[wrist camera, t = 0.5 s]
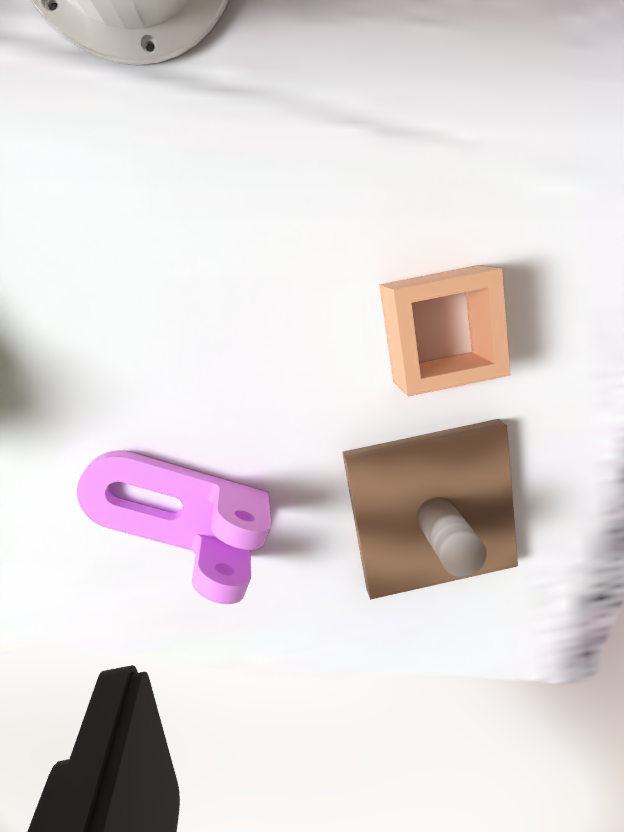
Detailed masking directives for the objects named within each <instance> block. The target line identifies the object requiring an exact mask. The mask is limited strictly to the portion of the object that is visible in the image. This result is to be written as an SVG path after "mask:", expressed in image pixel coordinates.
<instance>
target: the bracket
mask: <svg viewBox="0 0 624 832" xmlns="http://www.w3.org/2000/svg"><path fill="white" fill-rule="evenodd" d="M113 482H123V483H126V484H130V485H133V486H137V487H140V488H144V489H147V490H151V491H154V492H158V493H161V494H165V495H169V496H172V497H175V498H177V499H179V500H180V501H181V502H182V504H183V508H182V509H181V510H180V511H177V512H167V511H164V510H160V509H156V508H153V507H149V506H145V505H142V504H138V503H135V502H131V501H127V500H124V499H120V498H117V497H115V496H113V495H112V494H111V492H110V490H109V484H111V483H113ZM77 496H78V501H79V504H80V506H81V508H82V510H83V511H84V513H85V514H86V515H87V516H88V517H89V518H90V519H91V520H92V521H94V522H95V523H97V524H99V525H101V526H103V527H106V528H110V529H113V530H117V531H121V532H125V533H128V534H132V535H136V536H140V537H143V538H147V539H151V540H155V541H158V542H162V543H166V544H170V545H173V546H177V547H181V548H185V549H188V550H191V551H193V552H194V553H195V554H196V557H195V563H194V570H193V577H192V584H193V587H194V588H195V590H196V591H197V592H198V593H199V594H200V595H202V596H203V597H205V598H206V599H208V600H211V601H213V602H217V603H221V604H233V603H237V602H239V601H241V600H242V599H243V597H244V595H245V592H246V589H247V587H248V584H249V582H250V579H251V553H250V550H255V549H259V548H261V547H262V546H263V545H264V543H265V540H266V538H267V535H268V532H269V530H270V527H271V515H270V504H269V494H268V492H265V491H262V490H258V489H255V488H252V487H248V486H245V485H241V484H238V483H235V482H231V481H228V480H224V479H221V478H218V477H214V476H211V475H207V474H204V473H201V472H197V471H194V470H190V469H187V468H184V467H180V466H177V465H173V464H170V463H167V462H163V461H160V460H156V459H153V458H150V457H146V456H143V455H139V454H136V453H133V452H129V451H111V452H107V453H105V454H102V455H100V456H98V457H97V458H95V459H94V460H93V461H92V462H91V463H90V464H89V465H88V467H87V468H86V470H85V471H84V472H83V474H82V476H81V478H80V480H79V483H78V488H77Z"/></svg>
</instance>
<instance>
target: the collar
mask: <svg viewBox="0 0 624 832" xmlns="http://www.w3.org/2000/svg"><path fill="white" fill-rule="evenodd" d="M380 292H381V299H382V306H383V313H384V320H385V327H386V334H387V341H388V349H389V356H390V363H391V370H392V377H393V382H394V383H395V384H396V385H397V386H398V387H399V388H400V389H401V390H402V391H403V392H404V393H405V394H406V395H407V396H413V395H418V394H423V393H428V392H432V391H437V390H442V389H447V388H452V387H456V386H461V385H466V384H471V383H476V382H481V381H485V380H490V379H495V378H500V377H505V376H509V375H510V364H509V351H508V338H507V324H506V311H505V298H504V285H503V272H502V268H495V267H487V266H479V265H477V266H472V267H467V268H462V269H457V270H452V271H447V272H442V273H437V274H431V275H426V276H421V277H416V278H411V279H406V280H401V281H396V282H391V283H386V284H381V285H380ZM463 292H466V294H467V305H468V315H469V326H470V336H471V347H472V352H471V353H466V354H461V355H456V356H451V357H446V358H442V359H437V360H432V361H427V362H422V363H419V359H418V351H417V344H416V336H415V328H414V320H413V312H412V304H411V303H413V302H418V301H423V300H428V299H433V298H438V297H443V296H448V295H453V294H458V293H463Z"/></svg>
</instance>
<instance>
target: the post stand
mask: <svg viewBox="0 0 624 832" xmlns="http://www.w3.org/2000/svg"><path fill="white" fill-rule="evenodd" d="M343 458H344V463H345V469H346V475H347V480H348V486H349V492H350V497H351V503H352V509H353V514H354V520H355V526H356V531H357V537H358V543H359V548H360V554H361V560H362V565H363V571H364V577H365V583H366V588H367V591H368V594H369V597H370V599H375V598H379V597H384V596H388V595H393V594H397V593H401V592H406V591H410V590H415V589H419V588H424V587H428V586H432V585H437V584H441V583H446V582H450V581H455V580H459V579H464V578H468V577H472V576H477V575H481V574H486V573H490V572H495V571H499V570H503V569H508V568H512V567H517V566H518V561H517V549H516V536H515V524H514V511H513V499H512V486H511V474H510V461H509V449H508V437H507V425H506V424H504V423H503V422H501V421H500V420H499V419H496V420H492V421H487V422H482V423H477V424H473V425H468V426H463V427H458V428H454V429H449V430H444V431H440V432H435V433H430V434H425V435H421V436H416V437H411V438H406V439H402V440H397V441H392V442H387V443H383V444H378V445H373V446H369V447H364V448H359V449H354V450H350V451H345V452H343Z"/></svg>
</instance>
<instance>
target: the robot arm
mask: <svg viewBox="0 0 624 832" xmlns="http://www.w3.org/2000/svg"><path fill="white" fill-rule="evenodd" d="M31 1H32V3H33V4H34V5H35V6H36V8H37V9H38V10H39V12H40V13H41V14H42V15H43V17H44V18H45V19H46V20H47V21H48V22H49V23H50V24H51V25H52V26H53V27H54V28H55V29H56V30H57V31H58V32H59V33H60V34H62V35H63V36H64V37H66V38H67V39H68V40H70V41H71V42H72V43H73V44H75V45H76V46H78V47H80V48H82V49H83V50H85V51H87V52H89V53H91V54H93V55H95V56H97V57H100V58H103V59H107V60H110V61H113V62H116V63H124V64H134V65H143V64H151V63H160V62H162V61H165V60H168V59H171V58H174V57H177V56H179V55H181V54H182V53H184V52H186V51H187V50H189V49H190V48H192V47H194V46H195V45H197V44H198V43H199V42H200V41H201V40H202V39H203V38H204V37H205V36H206V35H207V34H208V33H209V32H210V31H211V30H212V28H213V27H214V25H215V24H216V23H217V21H218V20H219V18H220V17H221V15H222V14H223V12H224V10H225V7H226V5H227V3H228V0H31ZM52 3H57V4H58V6H57V8H56V9H55V10H53V11H51V9H50V6H51V4H52ZM148 44H153V45H155V49H154V50H153V51H152V52H149V51H147V50H146V47H147V45H148ZM179 805H180V796H179V787H178V782H177V778H176V775H175V771H174V768H173V764H172V760H171V757H170V753H169V749H168V746H167V742H166V738H165V735H164V731H163V727H162V724H161V720H160V717H159V713H158V709H157V705H156V702H155V698H154V694H153V691H152V687H151V683H150V680H149V677H148V674H147V672H140V673H138V672H137V669H136V667H135V666H133V665H132V666H127V667H121V668H116V669H111V670H106V671H102V672H101V673H100V675H99V677H98V679H97V682H96V685H95V688H94V691H93V694H92V697H91V700H90V702H89V705H88V708H87V711H86V714H85V716H84V720H83V722H82V725H81V728H80V731H79V734H78V736H77V739H76V742H75V745H74V748H73V751H72V754H71V756H70V759H68V760H63V761H58V762H57V763H56V764H55V765H54V766H53V768H52V770H51V772H50V774H49V776H48V779H47V782H46V784H45V787H44V789H43V792H42V795H41V797H40V800H39V803H38V806H37V808H36V811H35V813H34V816H33V818H32V821H31V824H30V826H29V829H28V832H177V824H178V815H179Z"/></svg>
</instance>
